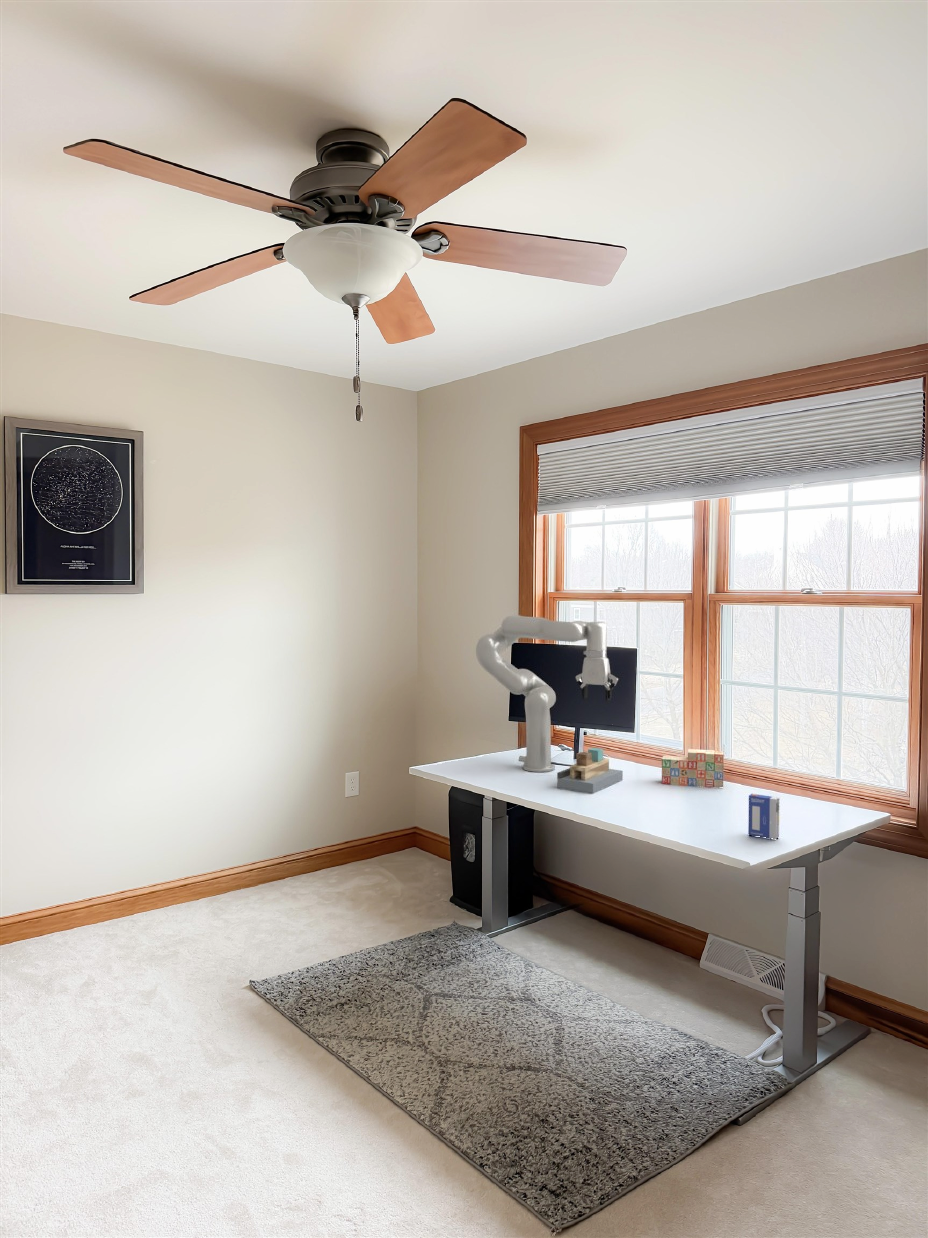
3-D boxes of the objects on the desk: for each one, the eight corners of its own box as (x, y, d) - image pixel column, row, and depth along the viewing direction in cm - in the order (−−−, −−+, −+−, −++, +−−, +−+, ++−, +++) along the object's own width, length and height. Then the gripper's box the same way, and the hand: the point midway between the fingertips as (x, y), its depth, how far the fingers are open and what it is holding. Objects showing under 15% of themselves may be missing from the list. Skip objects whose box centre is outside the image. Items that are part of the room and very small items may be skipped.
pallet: (570, 778, 294) (570, 766, 294) (594, 768, 309) (594, 756, 309) (585, 780, 290) (585, 768, 290) (609, 770, 306) (609, 758, 306)
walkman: (748, 836, 237) (748, 794, 237) (751, 833, 240) (751, 792, 239) (776, 840, 233) (777, 798, 232) (779, 838, 235) (779, 796, 235)
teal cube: (588, 760, 303) (588, 749, 303) (593, 758, 306) (593, 747, 306) (598, 761, 301) (598, 750, 300) (602, 759, 304) (602, 748, 304)
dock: (557, 788, 294) (557, 772, 294) (588, 775, 314) (588, 760, 313) (593, 793, 286) (593, 778, 286) (622, 780, 306) (622, 765, 305)
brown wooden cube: (576, 765, 295) (576, 753, 295) (581, 763, 299) (581, 751, 298) (586, 766, 293) (586, 755, 293) (591, 764, 296) (591, 753, 296)
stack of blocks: (661, 784, 299) (661, 750, 299) (662, 780, 305) (662, 747, 305) (723, 788, 293) (723, 754, 292) (723, 784, 298) (724, 750, 298)
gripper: (571, 654, 317) (571, 698, 318) (613, 656, 307) (613, 702, 308) (580, 652, 323) (580, 696, 324) (621, 654, 313) (621, 699, 314)
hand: (596, 699), depth 316 cm, fingers open, 9 cm apart
